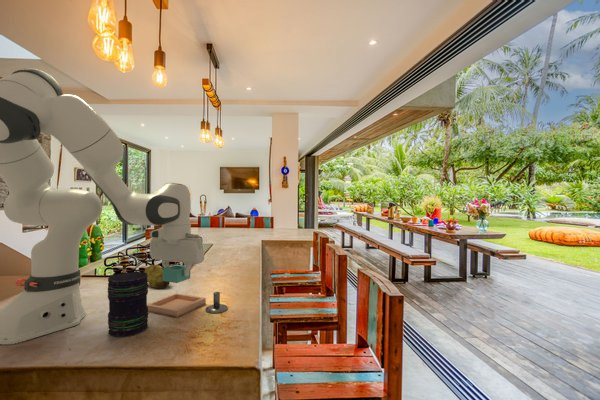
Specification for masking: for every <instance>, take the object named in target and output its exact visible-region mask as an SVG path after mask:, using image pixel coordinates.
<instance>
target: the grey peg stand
mask: <svg viewBox="0 0 600 400" xmlns="http://www.w3.org/2000/svg"><path fill="white" fill-rule="evenodd" d="M220 294H221V292H220V291H213V299H212V300H213V304H211V305H208V306H206V307H205V312H206V313H208V314H220V313H221V314H222V313H225V312H227V310H228V309H229V307H228V305H227V304H223V303H221V301H220V300H221V295H220Z"/></svg>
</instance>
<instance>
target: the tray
mask: <svg viewBox="0 0 600 400" xmlns="http://www.w3.org/2000/svg"><path fill="white" fill-rule="evenodd" d="M206 300H207V299H206V297H201V296H197V295H196V296H195V295H190V294H184V293H178V292H175V293H173V294H170V295H167V296H164V297H163V298H160V299H157V300H154V301H152V302H149V303H147V307H148V313H151V314H157V315H160V316H166V317H171V318H174V319H178V318H180V317H182V316H184V315H186V314H189V313H190V312H193V311H194V310H196V309H198V308H200V307H203V306H205V305H206V302H207V301H206Z"/></svg>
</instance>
